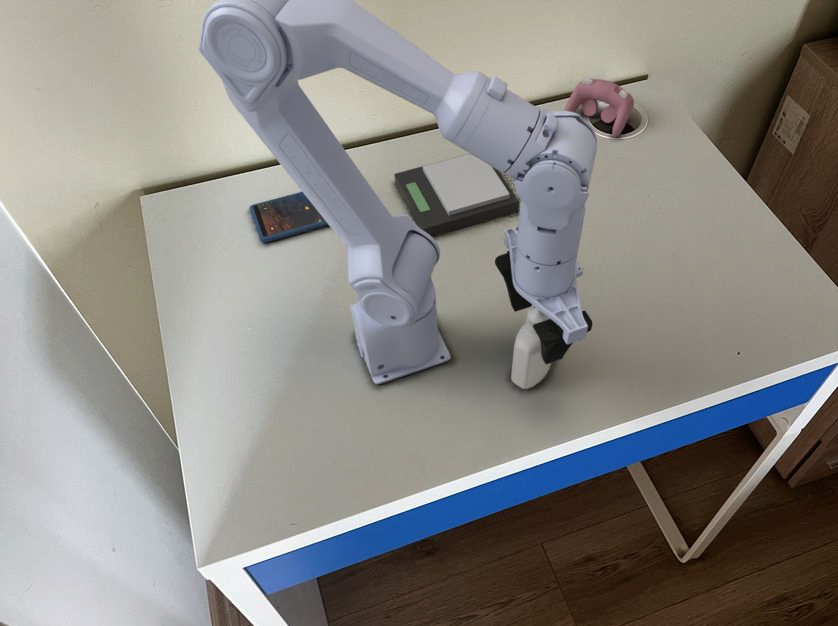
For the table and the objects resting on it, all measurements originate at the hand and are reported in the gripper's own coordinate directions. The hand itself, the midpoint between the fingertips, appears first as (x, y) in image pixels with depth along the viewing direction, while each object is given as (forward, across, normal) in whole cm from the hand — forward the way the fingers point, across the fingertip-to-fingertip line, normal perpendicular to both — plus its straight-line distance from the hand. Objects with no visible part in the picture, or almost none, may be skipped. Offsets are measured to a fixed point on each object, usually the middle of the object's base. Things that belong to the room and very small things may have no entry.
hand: (536, 332), depth 76 cm
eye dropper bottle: (+8, 0, 0) cm, 8 cm away
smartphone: (+8, +36, +17) cm, 41 cm away
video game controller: (+8, +39, -30) cm, 50 cm away
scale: (+8, +31, -3) cm, 32 cm away
